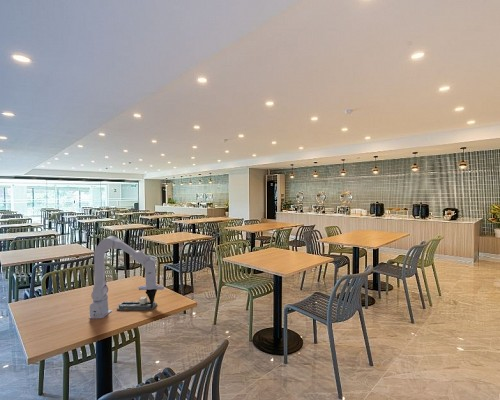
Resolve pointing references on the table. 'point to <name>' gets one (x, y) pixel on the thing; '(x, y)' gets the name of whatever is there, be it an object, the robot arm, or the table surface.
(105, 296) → the robot arm
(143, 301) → the fader knob
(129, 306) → the console
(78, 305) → the table surface
